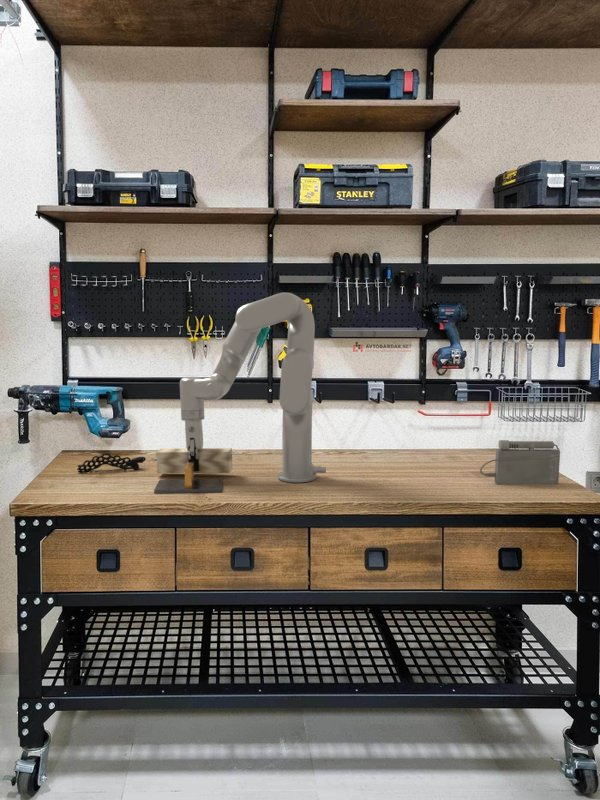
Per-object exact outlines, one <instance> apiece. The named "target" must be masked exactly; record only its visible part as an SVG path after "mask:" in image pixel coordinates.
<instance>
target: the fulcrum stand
mask: <svg viewBox="0 0 600 800" xmlns="http://www.w3.org/2000/svg"><path fill="white" fill-rule="evenodd" d="M194 474H195V473H194V462H187V464H186V466H185V473H184V478H182V479H181V478H180V479H159V480H158V482H157V484H156V486H155V488H154V490H153V494H188V493H189V494H191V493H192V494H195V493H198V494H201V493H221V492H222V489H223V483H224V478H195V475H194Z"/></svg>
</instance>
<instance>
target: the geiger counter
mask: <svg viewBox="0 0 600 800" xmlns="http://www.w3.org/2000/svg"><path fill="white" fill-rule="evenodd" d="M497 446H498V448H496V449H495V459H490V460H489V461H487V462H485V463H484V464H482V466H481V467H480V469H479V472H480V474H481V475H483V476H485V477H489V478H491V477H492V478H493V477H494V483H495V484H496V485H559V481H560V480H559V479H560V478H559V477H560V460H561V450H560V448H559V447H558V445H557V444H556V443H554V441H552V440H547V441H545V440H543V441H539V440H538V441H537V440H536V441H535V440H528V441H527V440H522V441H521V440H520V441H519V440H517V441H515V440H511V441H510V440H508V439H500V440H498V444H497ZM492 462H494V463H495V465H494V472H486V473H485V472H484V473H483V471H482V469H484V467H485V466H486V465H488V464H490V463H492Z"/></svg>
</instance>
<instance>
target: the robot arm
mask: <svg viewBox="0 0 600 800" xmlns="http://www.w3.org/2000/svg"><path fill="white" fill-rule="evenodd" d="M314 318H315V317H314V314H313V312H312V309H311V307H310V306H309V305H308V304H307V302H305V301H304V300H303V299H302V298H300V296H297V295H296V294H294V293H292V292H279V293H276V294H273V295H270V296H268V297H265V298H263V299H259V300H256V301H252V302H249V303H246V304H244V305H243V304H242V305H241V306H240V307H239V308H238V309H237V310H236V313H235V320H234V322H233V324H232V327H231V328H230V331H229V332H228V334H227V336H226V337H225V340H224V342H223V344H222V349H221V351H222V352H221V355H220V358H219V361H218V363H217V365H216V367H215V369H214V371H213V372H212V374H211V376H210V377H206V378H202V377H200V376H186V377H182V378H181V379H180V380H179V396H180V420H181V421H184V431H185V432H184V433H185V446H186V448H185V449H187V450H188V451H189V462H194V471H199V459H198V449H200V450H202V448H203V447H204V433H203V432H204V431H203V420H205V401H210V402H211V401H217V400H220V399H222V398H223V397H224V396H225V395H226V394H227V393H228V392H229V391H230V389H231V387H232V385H233V383H234V382H235V380H236V378H237V376H238V374H239V372H240V370H241V368H242V367H243V364H244V362H245V361H246V359H247V357H248V355H249V353H250V351H251V349H252V347H253V345H254V343H255V342H256V340H257V338H258V337H259V334H261V331H262V329H265V328H268V327H270V326H273V325H276V324H279V323H283V322H285V321H286V322H287V326H288V329H287V346H286V347H287V348H286V354H285V356H284V357H283V359H282V362H281V368H280V370H281V371H280V384H279V385H280V386H279V405H280V408H281V409H282V427H281V428H282V430H281V431H282V435H281V437H282V439H281V441H282V443H281V444H282V445H281V446H282V447H281V448H282V449H281V450H282V455H281V456H282V460H281V462H282V471H281V472H279V473H278V474H277V479H278V480H280V481H282V482H287V483H307V482H312V481H315V480H316V479H317V473H318V474H319V473H320V474H326V473H327V470H326V469H327V468H326V466H321V465H319V466H318V465H317V466H315V465H313V462H312V457H313V456H312V455H313V453H312V452H313V451H312V450H313V448H312V447H313V446H312V445H313V444H312V441H313V439H312V437H313V436H312V435H313V433H312V431H313V402H314V401H313V392H312V380H313V379H312V377H313V370H314V366H315V361H314V353H315V352H314V351H315V332H316V331H315V328H316V327H315V326H316V325H315V319H314ZM194 449H196V450H194ZM195 452H196V453H195Z"/></svg>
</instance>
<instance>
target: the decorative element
mask: <svg viewBox="0 0 600 800" xmlns="http://www.w3.org/2000/svg"><path fill="white" fill-rule="evenodd" d="M106 456H107V457H106ZM116 458H117V459H116ZM94 459H95V460H94ZM100 459H101V460H100ZM126 459H127V460H126ZM146 460H147V459H146V457H145V456H137V457H135V458H132V459H131V458H130V457H128V456H125V457H123V458H122V457H121V456H120V455H116V454H115V455H114V456H113V455H112V454H110V453H109V452H105V453H102V455H99V456H97V455H95V456H93V457H92V459H91V460H89V459H88V460H84V462H83V463H82V464H79V465H77V469H76V470H77V473H79V474H81V473H82V474H83V473H89V472H92V471H94V470H96V469H99V468H100V467H101V466H103V465H104V466H105V465H108V466H110V467H114V468H119V469H122V470H133V471H139V469H140V464H142V463H144V462H145V461H146ZM82 467H83V468H82Z"/></svg>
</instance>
